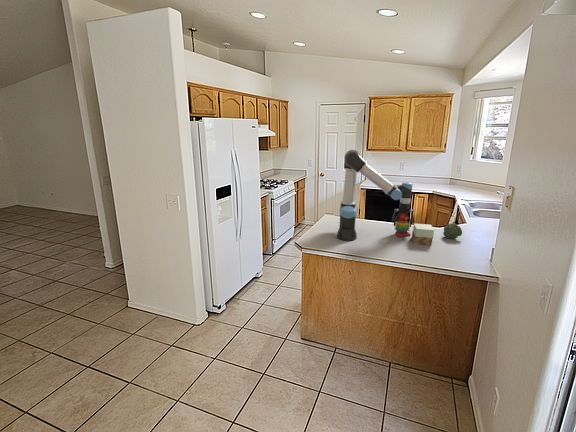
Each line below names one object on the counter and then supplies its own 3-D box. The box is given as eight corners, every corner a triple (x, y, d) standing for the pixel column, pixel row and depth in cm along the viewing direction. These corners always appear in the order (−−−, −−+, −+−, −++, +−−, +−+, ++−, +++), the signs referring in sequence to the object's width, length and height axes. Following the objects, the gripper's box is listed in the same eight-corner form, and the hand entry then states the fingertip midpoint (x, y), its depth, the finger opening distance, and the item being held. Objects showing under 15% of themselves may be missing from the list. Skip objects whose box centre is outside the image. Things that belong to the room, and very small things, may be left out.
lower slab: (413, 244, 228) (414, 236, 226) (411, 238, 239) (412, 230, 238) (431, 245, 226) (432, 237, 224) (428, 239, 237) (429, 232, 235)
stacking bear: (400, 237, 240) (403, 215, 234) (391, 233, 249) (393, 211, 243) (411, 235, 244) (414, 213, 238) (402, 231, 253) (404, 210, 247)
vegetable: (467, 235, 238) (462, 231, 227) (452, 244, 244) (447, 241, 233) (457, 222, 245) (452, 218, 234) (443, 231, 250) (437, 228, 240)
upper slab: (415, 236, 226) (416, 228, 225) (412, 230, 238) (413, 223, 236) (433, 237, 224) (434, 230, 222) (429, 232, 235) (430, 224, 233)
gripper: (390, 203, 237) (387, 230, 244) (421, 204, 233) (417, 232, 239) (389, 200, 244) (386, 227, 251) (419, 202, 239) (415, 229, 246)
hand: (401, 230), depth 245 cm, fingers closed on stacking bear, 9 cm apart
